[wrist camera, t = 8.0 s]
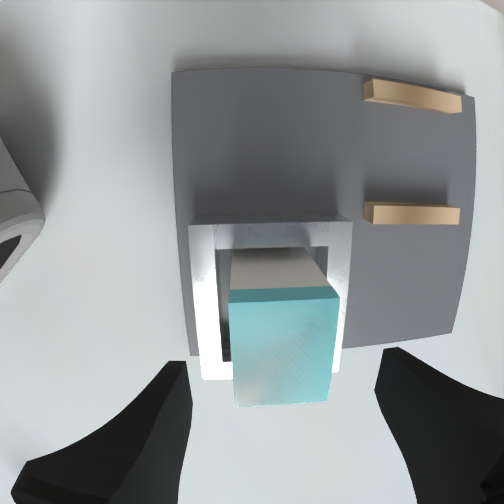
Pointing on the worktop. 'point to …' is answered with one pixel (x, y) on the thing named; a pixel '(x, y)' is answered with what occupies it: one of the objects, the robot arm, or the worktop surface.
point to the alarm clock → (16, 214)
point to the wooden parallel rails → (423, 100)
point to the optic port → (260, 236)
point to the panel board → (330, 184)
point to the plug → (280, 327)
